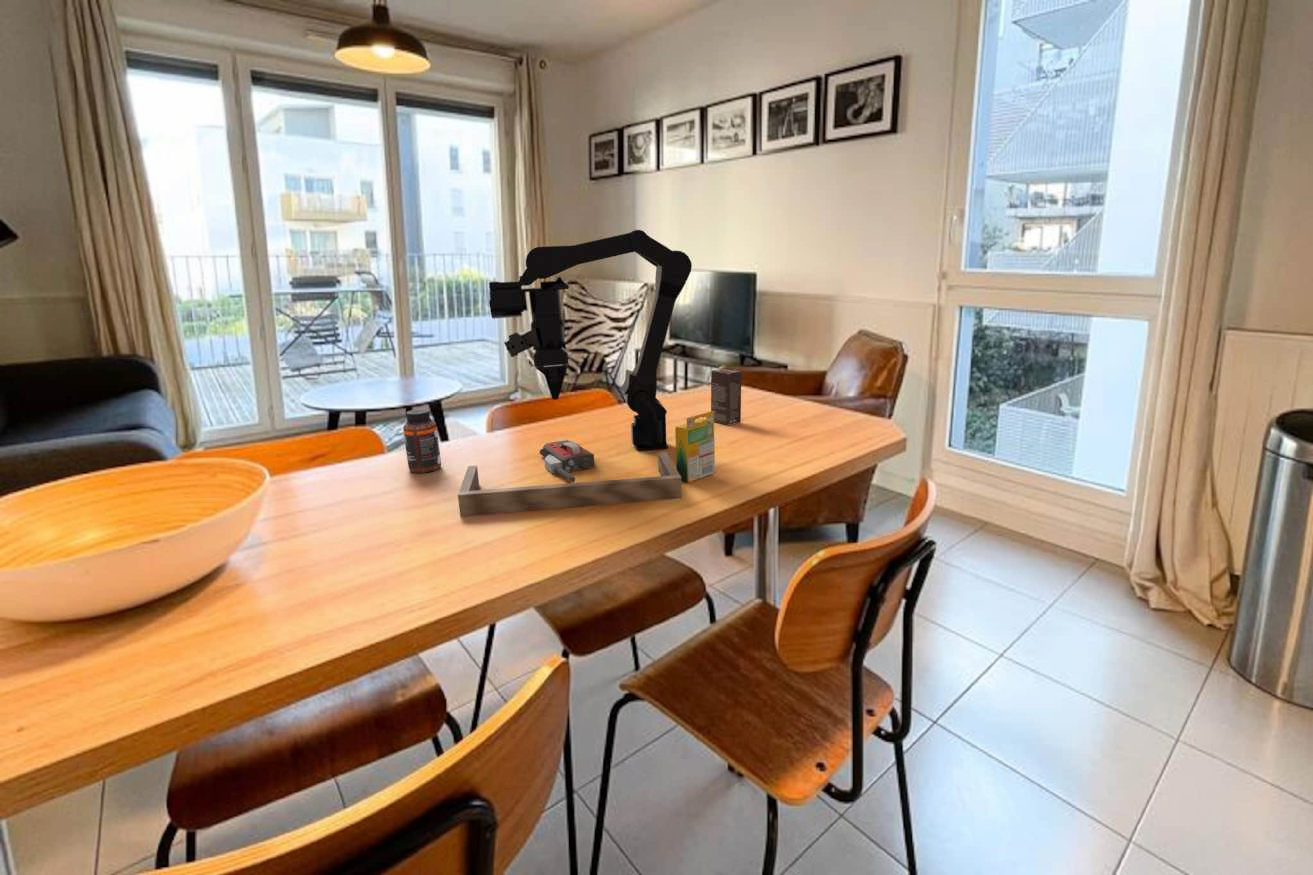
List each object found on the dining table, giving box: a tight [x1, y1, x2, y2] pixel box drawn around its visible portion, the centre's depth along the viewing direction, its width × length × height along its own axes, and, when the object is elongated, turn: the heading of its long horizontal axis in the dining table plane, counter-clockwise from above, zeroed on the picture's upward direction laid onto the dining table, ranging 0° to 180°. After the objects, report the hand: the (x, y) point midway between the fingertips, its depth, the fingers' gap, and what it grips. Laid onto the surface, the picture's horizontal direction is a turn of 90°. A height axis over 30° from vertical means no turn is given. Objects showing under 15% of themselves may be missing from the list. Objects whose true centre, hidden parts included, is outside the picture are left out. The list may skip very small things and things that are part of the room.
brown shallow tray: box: [457, 451, 683, 517], centre depth 113 cm, size 35×14×4 cm, turn 99°
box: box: [710, 368, 742, 426], centre depth 154 cm, size 6×4×12 cm
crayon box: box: [674, 410, 716, 484], centre depth 117 cm, size 7×3×12 cm, turn 134°
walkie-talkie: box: [539, 439, 596, 483], centre depth 125 cm, size 9×4×20 cm
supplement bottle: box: [402, 408, 442, 474], centre depth 126 cm, size 6×6×11 cm
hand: (554, 394), depth 132 cm, fingers open, 9 cm apart
